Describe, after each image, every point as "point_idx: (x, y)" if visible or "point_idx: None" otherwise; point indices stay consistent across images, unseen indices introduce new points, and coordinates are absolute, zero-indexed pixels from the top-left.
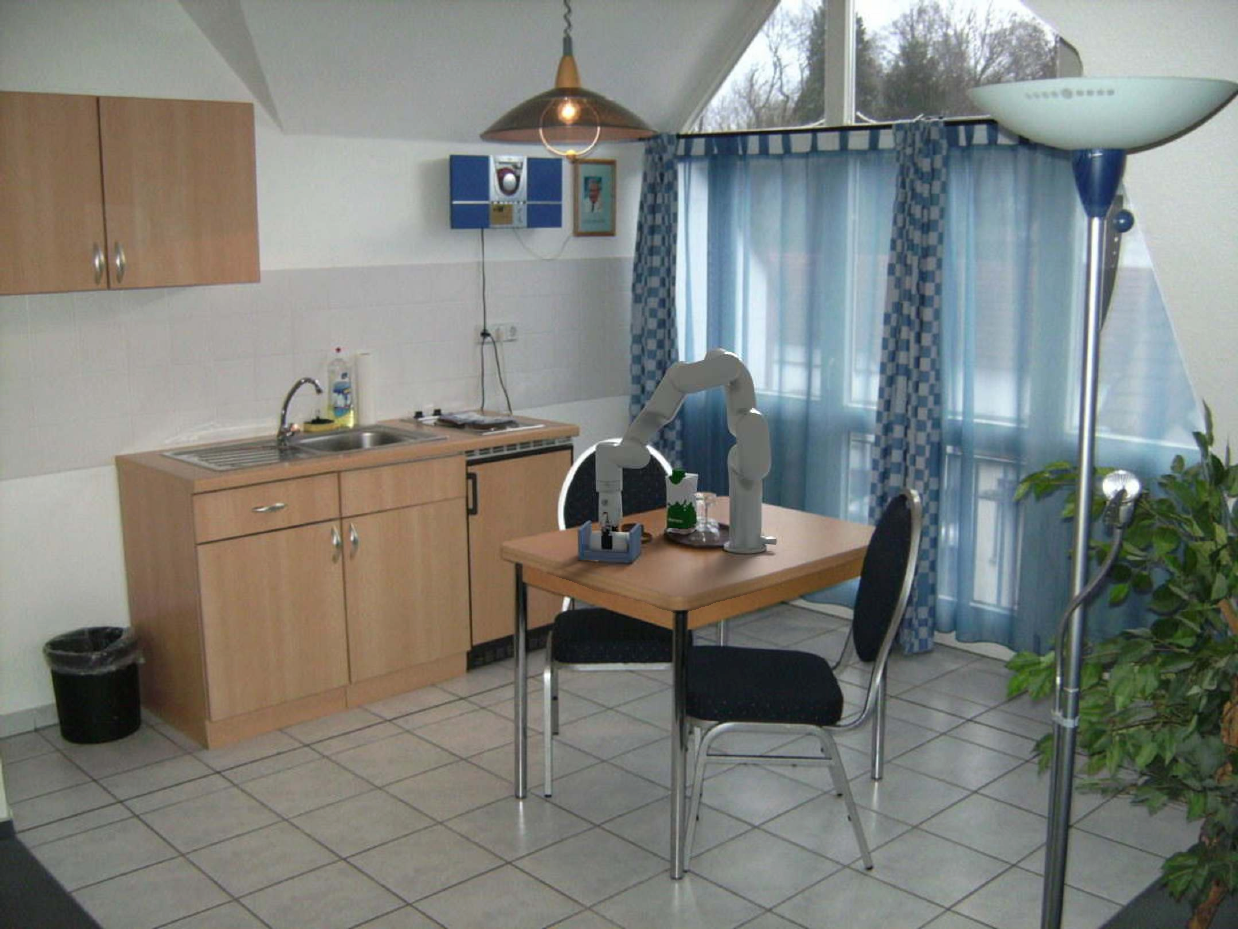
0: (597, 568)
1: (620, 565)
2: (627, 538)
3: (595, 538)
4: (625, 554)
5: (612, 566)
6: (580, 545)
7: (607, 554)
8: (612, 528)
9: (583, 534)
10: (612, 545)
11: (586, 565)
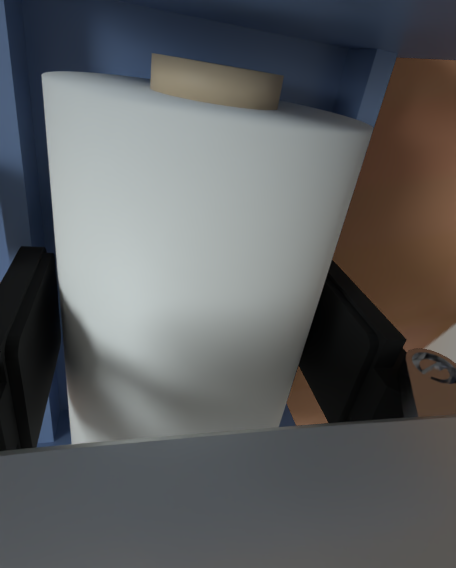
0: (447, 273)
1: (419, 133)
2: (308, 121)
3: None
4: (375, 108)
5: (429, 190)
6: None
7: None
8: (10, 429)
9: None
10: (329, 273)
11: None
